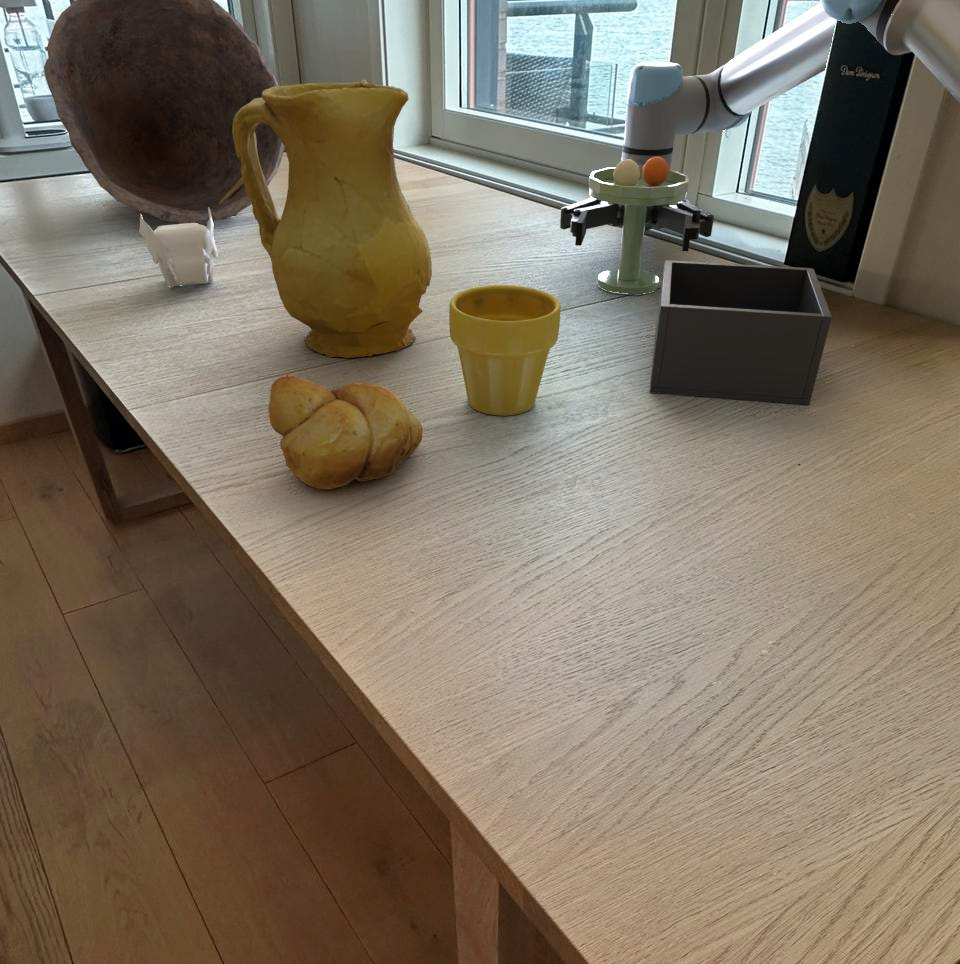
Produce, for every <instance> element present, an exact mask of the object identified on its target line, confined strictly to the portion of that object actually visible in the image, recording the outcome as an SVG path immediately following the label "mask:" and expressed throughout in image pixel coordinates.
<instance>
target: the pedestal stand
mask: <svg viewBox="0 0 960 964" xmlns="http://www.w3.org/2000/svg"><path fill="white" fill-rule="evenodd" d="M639 169H640V177H639V180H638V182H637V183H636V184H635V185H634V186H622V185H617V184H616V183H615V181H614V170H615V167H605V168H602V169H599V170H593V171H592V172H591V173H590V176H589V177H588V189H589V191H588V194H589V196H590V197H591V196H592V197H593V198H595V199H598V200H601V202H609V203H614V204H622V205H625V210H624V220H623V227H622V230H621V239H620V241H621V242H620V250H619V251H620V252H619V261H618V269H610V270H605V271H602V272H601V273H599V274H598V276H597V283H598V285H599V286H600V287H601V288H603V289H605V290H607V291H612V292H619V293H628V294H643V293H649V292H652V291H654V292H656V291H657V290H658V289H659V283H660V280H659V277H658V276H657V275H656V274H654V273H651V272H649V271H645V270H641V266H642V265H641V264H642V257H643V247H644V239H645V232H646V231H645V223H646V214H647V206H656V205H666V204H669V205H672V204H677V202H680V201H682V200H684V199H686V198H687V193H688V189H689V181H690V180H689V179H690V176H689V175H687V174H685V173H682V172H679V171H677V170H673V169H670V170H669V172H668V176H667V178H666V180H665V181H664V182H663V183H662V184H660V185H658V186H651V185H649V184H647V183H646V182H645V181H644V179H643V175H642V171H643V167H639ZM644 231H645V232H644ZM598 285H597V286H598ZM657 288H658V289H657ZM656 289H657V290H656ZM655 290H656V291H655ZM652 293H653V292H652ZM649 294H650V293H649ZM643 295H644V294H643Z"/></svg>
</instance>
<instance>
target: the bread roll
mask: <svg viewBox="0 0 960 964" xmlns="http://www.w3.org/2000/svg"><path fill="white" fill-rule="evenodd" d="M269 393H270V395H269V403H268V410H267V411H268V419H269V423H270V426H271V428H272V429H273V431H274V432H275V433H277V434H278V435H280V436H281V437H282V438H281V439H280V442H279V443H280V449H281V451H282V454H283V457H284V461H285V467H287V468H288V469H289V470H290V472H291V473H292V474H293V475H294V476H295V477H296V478H297V479H299V481H301V482H302V483H303V484H305V485H307V486H309V487H311V488H314V489H319V490H331V489H336V488H340V487H345V486H346V485H349V484H350V483H351V482H352V481H354V480H356V481H357V482H367V481H371V480H375V479H376V480H377V479H380V478H383V477H386V476H389V475H392V474H393V473H394V472H395V471H396V470H397V469H398V466H399V465H400V464H401V462H403V461H405V460H408V459H409V458H410V457H411V456H412V455H413V453H414V452H415V451H416V450H417V449H418V447H419V446H420V444H421V442H422V440H423V424H422V422H421V421H420V420H419V418H418V417H417V416H416V415H415V414H413V413H412V412H411V411H409V410H408V408H407V406H406V404H405V403H404V401H403V400H402V399H401V398H400V397H399V396H398V395H397V394H396V393H395V392H393V391H392V390H391V389H388V388H386V387H384V386H382V385H381V384H378V383H373V382H367V381H357V382H352V381H351V382H348V383H345V384H342V385H341V386H339V387H337V388H334V389H330V388H328V387H325V386H323V385H320V384H318V383H315V382H312V381H310V380H308V379H304V378H302V377H300V376H295V375H288V374H286V375H285V376H281V377H279V378H277V379H275V380H274V381H273V382H272V384H271V385H270V391H269Z"/></svg>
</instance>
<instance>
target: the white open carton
mask: <svg viewBox="0 0 960 964" xmlns="http://www.w3.org/2000/svg"><path fill="white" fill-rule="evenodd" d="M208 212H209V217H210V218H209V221H207V224H206V225H207V226H206V225H204V224H199V223H185V224H179V223H177V224H166V225H165V224H164V225H159V226H157V227H156V228H155V230H153V229H152V228H151V226H150V225H149V224H148V223H147V222H146V221H145V220H144V218H143V215H142V213H140V214H139V230H138V233H139V234H140V235H141V236H142V237H143V238H144V239H145V241H146V248H147V251H148V252H149V254H150V256H151V257H152V261H153V263H154V264H156V265H157V264H158V267H159V269H160V272H161V274H162V278H163V279H164V281H165V284H166V285H168V286H170V287H172V286H180V285H183V286H186V285H194V284H196V285H197V284H198V283H206V284H209V283H208V282H212V283H214V277H215V264H214V259H213V257H214V258H218V256H219V254H218V253H219V252H218V248H217V245H216V241H215V236H214V227H215V224H214V220H212V217H211V211H210V208H209V207H208ZM212 256H213V257H212ZM168 286H167V287H168ZM170 287H169V288H170ZM172 288H173V287H172Z"/></svg>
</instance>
